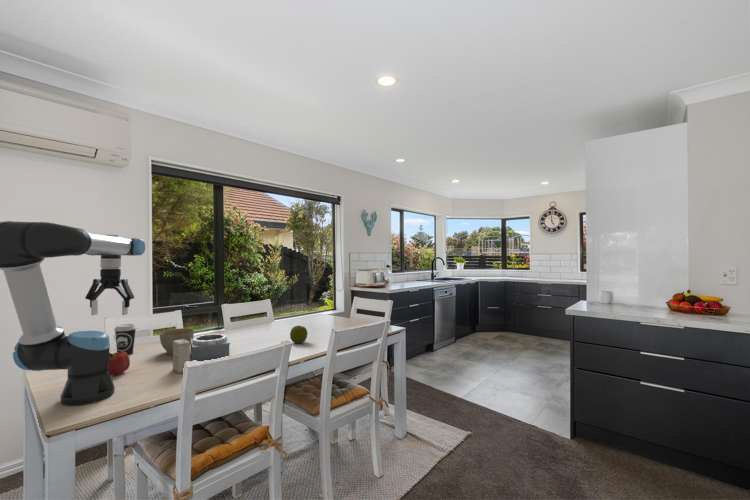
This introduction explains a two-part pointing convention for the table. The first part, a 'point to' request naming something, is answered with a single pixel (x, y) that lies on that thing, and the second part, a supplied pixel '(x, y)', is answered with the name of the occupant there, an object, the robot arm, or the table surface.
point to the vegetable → (118, 363)
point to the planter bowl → (174, 337)
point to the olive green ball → (298, 334)
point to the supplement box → (180, 354)
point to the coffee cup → (125, 337)
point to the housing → (209, 347)
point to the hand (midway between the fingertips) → (109, 314)
